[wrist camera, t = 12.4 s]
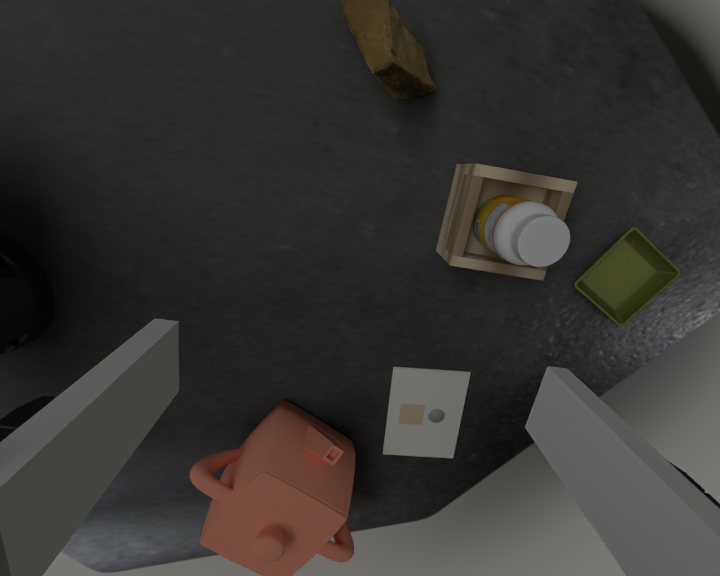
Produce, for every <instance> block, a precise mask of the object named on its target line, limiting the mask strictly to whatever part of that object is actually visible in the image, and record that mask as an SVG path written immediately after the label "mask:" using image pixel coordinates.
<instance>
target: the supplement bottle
mask: <svg viewBox="0 0 720 576" xmlns="http://www.w3.org/2000/svg"><path fill="white" fill-rule="evenodd" d="M473 231H474V234H475V236H476V238H477V239H478V241H479V242H480V243H482V244H483V245H484V246H486V247H487V248H489V249H490V250H492V251H493V252H495V253H496V254H498V255H499V256H500V257H502V258H503V259H505V260H506V261H508V262H510V263H513V264H516V265H531V266H534V267H544V266H548V265H551V264H553V263H555V262H556V261H558V260H559V259H560V258H561V257H562V256H563V255H564V254H565V252H566V251H567V249H568V246H569V243H570V232H569V229H568V227H567V225H566V224H565V223H564V222H563V221H562V220H561V219H559V218H558V217H557V215H556V213H555V212H554V211H553V210H552V209H551V208H550V207H548V206H546V205H544V204H542V203H539V202H535V201H531V200H527V199H523V198H519V197H515V196H510V195H497V196H493V197H491V198H489V199H487V200H486V201H484V202H483V203H482V204H481V205H480V206H479V208H478V209H477V210H476V212H475V215H474V218H473Z"/></svg>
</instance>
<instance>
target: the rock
mask: <svg viewBox="0 0 720 576" xmlns="http://www.w3.org/2000/svg"><path fill="white" fill-rule="evenodd" d="M340 7H341V9H342V12H343V15H344V17H345V18H346V21H347V24H348V26H349V28H350V30H351V32H352V34H353V36H354V37H355V39H356V42H357V44H358V46H359V47H360V51H361V53H362V55H363V57H364V58H365V61H366V63H367V65H368V66H369V68H370V69H371V72H372V74H373V75H374V76H375V77H376V78H377V79H378V81H379V82H380V83H381V84H382V85H383V86H384V87H386V89H387V91H388V92H390V94H391V96H392V97H393V98H394V99H412V98H419V97H422V96H425V95H427V94H428V93H431V92H434V91H435V90H436V84H435V83H434V82H433V81H432V79H431V77H430V75H429V72H428V67H427V64H426V59H425V53H424V49H423V48H422V46H420V45H419V44H418V43H417V42H416V39H415V37H414V36H413V35H412V34H411V33H410V32H409V30H408V29H407V28H406V27H405V25H404V23H403V20H402V18H401V16H400V14H399V13H398V12H397V11H396V9H395V8H394V7H393V6H392V4H391V2H390V0H343V1H342V2H341V3H340Z"/></svg>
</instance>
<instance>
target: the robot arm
mask: <svg viewBox="0 0 720 576" xmlns="http://www.w3.org/2000/svg"><path fill="white" fill-rule="evenodd" d="M51 315H52V296H51V291H50V288H49V285H48V283H47V280H46V278H45V276H44V275H43V273H42V271H41V270H40V268H39V267H38V265H37V264H36V263H35V262H34V260H33V259H32V258H31V257H30V256H29V255H28V254H27V253H26V252H25V251H24V250H23V249H21V248H20V247H19V246H18V245H16V244H15V243H14V242H12V241H11V240H9V239H7V238H6V237H4V236H2V235H0V354H5V353H8V352H11V351H14V350H16V349H18V348H20V347H22V346H24V345H25V344H27V343H29V342H31V341H33V340H35V339H36V338H37V337H39V336H40V335H41V334H42V333H43V332H44V330H45V329H46V328H47V326H48V324H49V322H50V319H51ZM178 392H179V321H171V320H163V319H154V320H152V321H151V322H150V323H149V324H147V325H146V326H145V327H144V328H142V329H141V330H140V331H139V332H137V333H136V334H135V335H134V336H132V337H131V338H130V339H129V340H127V341H126V342H125V343H124V344H122V345H121V346H120V347H119V348H117V349H116V350H115V351H114V352H112V353H111V354H110V355H109V356H107V357H106V358H105V359H104V360H102V361H101V362H100V363H99V364H97V365H96V366H95V367H94V368H92V369H91V370H90V371H89V372H87V373H86V374H85V375H84V376H82V377H81V378H80V379H79V380H77V381H76V382H75V383H74V384H72V385H71V386H70V387H69V388H67V389H66V390H65V391H64V392H62V393H61V394H60V395H59V396H57V397H49V396H42V397H40V398H38V399H35V400H33V401H31V402H29V403H27V404H25V405H22V406H20V407H18V408H16V409H15V410H13V411H12V412H10V413H9V414H8V415H6V416H5V417H4V418H2V419H1V420H0V576H42V575H43V574H44V573H45V571H46V570H47V569H48V567H49V566H50V565H51V563H52V562H53V561H54V559H55V558H56V556H57V555H58V554H59V552H60V551H61V550H62V548H63V547H64V546H65V544H66V543H67V542H68V540H69V539H70V538H71V536H72V535H73V534H74V532H75V531H76V529H77V528H78V527H79V525H80V524H81V523H82V521H83V520H84V519H85V517H86V516H87V515H88V513H89V512H90V511H91V509H92V508H93V507H94V505H95V504H96V502H97V501H98V500H99V498H100V497H101V496H102V494H103V493H104V492H105V490H106V489H107V488H108V486H109V485H110V484H111V482H112V481H113V479H114V478H115V477H116V475H117V474H118V473H119V471H120V470H121V469H122V467H123V466H124V465H125V463H126V462H127V461H128V459H129V458H130V457H131V455H132V454H133V452H134V451H135V450H136V448H137V447H138V446H139V444H140V443H141V442H142V440H143V439H144V438H145V436H146V435H147V434H148V432H149V431H150V429H151V428H152V427H153V425H154V424H155V423H156V421H157V420H158V419H159V417H160V416H161V415H162V413H163V412H164V411H165V409H166V408H167V407H168V405H169V404H170V402H171V401H172V400H173V398H174V397H175V396H176V394H177V393H178ZM525 428H526V430H527V431H528V433H529V434H530V435H531V437H532V438H533V440H534V441H535V443H536V444H537V446H538V447H539V448H540V450H541V452H542V453H543V454H544V456H545V457H546V459H547V460H548V462H549V463H550V465H551V466H552V468H553V469H554V471H555V472H556V474H557V475H558V476H559V478H560V479H561V481H562V482H563V484H564V485H565V487H566V488H567V489H568V491H569V492H570V494H571V495H572V497H573V498H574V500H575V501H576V503H577V504H578V506H579V507H580V509H581V510H582V512H583V513H584V515H585V516H586V517H587V519H588V520H589V522H590V523H591V525H592V526H593V528H594V529H595V531H596V532H597V534H598V535H599V537H600V538H601V539H602V541H603V542H604V544H605V545H606V546H607V548H608V549H609V551H610V552H611V554H612V556H613V557H614V558H615V560H616V561H617V563H618V564H619V566H620V567H621V569H622V570H623V572H624V573H625V575H626V576H720V504H719V503H718V502H717V501H716V500H715V499H714V498H713V497H712V496H711V495H709V494H708V493H705V492H704V491H705V490H704V489H703V488H702V487H701V486H700V485H698V484H697V483H696V482H695V481H694V480H693V479H692V478H691V477H689V476H688V475H687V474H686V473H685V472H684V471H682V470H681V469H679V468H678V467H676V466H675V465H673V464H672V463H670V462H669V461H667V460H666V459H665V458H664V457H663V456H662V455H660V454H659V453H658V452H657V451H656V450H655V449H654V448H653V447H652V446H651V445H650V444H649V443H647V442H646V441H645V440H644V439H643V438H642V437H641V436H640V435H639V434H638V433H637V432H635V431H634V430H633V429H632V428H631V427H630V426H629V425H628V424H627V423H626V422H625V421H624V420H622V419H621V418H620V417H619V416H618V415H617V414H616V413H615V412H614V411H613V410H612V409H610V408H609V407H608V406H607V405H606V404H605V403H604V402H603V401H602V400H601V399H600V398H599V397H597V396H596V395H595V394H594V393H593V392H592V391H591V390H590V389H589V388H588V387H587V386H585V385H584V384H583V383H582V382H581V381H580V380H579V379H578V378H577V377H576V376H575V375H574V374H572V373H571V372H570V371H569V370H568V369H566V368H557V367H549V366H548V367H547V369H546V372H545V375H544V377H543V380H542V383H541V385H540V388H539V391H538V394H537V396H536V399H535V402H534V404H533V407H532V410H531V412H530V415H529V418H528V420H527V423H526V426H525Z"/></svg>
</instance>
